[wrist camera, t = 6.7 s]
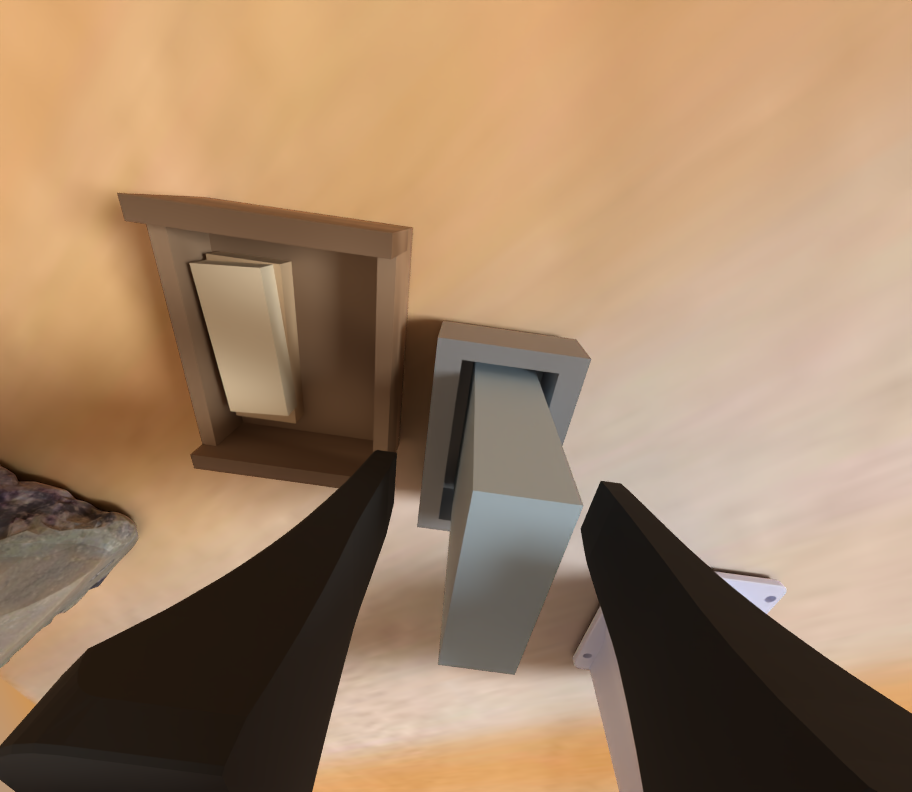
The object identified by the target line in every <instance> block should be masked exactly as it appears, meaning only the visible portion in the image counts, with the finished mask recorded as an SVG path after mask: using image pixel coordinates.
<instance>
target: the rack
mask: <svg viewBox="0 0 912 792" xmlns="http://www.w3.org/2000/svg"><path fill="white" fill-rule="evenodd" d="M117 194H118V198H119V201H120V205H121V209H122V212H123V216H124V219H125V221H129V222H136V223H143V224H146V225H147V229H148V233H149V237H150V241H151V245H152V248H153V252H154V256H155V260H156V264H157V268H158V272H159V276H160V280H161V284H162V288H163V291H164V295H165V299H166V303H167V307H168V311H169V315H170V319H171V323H172V327H173V331H174V334H175V338H176V342H177V346H178V350H179V354H180V358H181V362H182V366H183V370H184V374H185V377H186V381H187V385H188V389H189V393H190V397H191V401H192V405H193V409H194V413H195V417H196V420H197V424H198V428H199V432H200V436H201V440H202V445H201V446H200V447H199V448H198V449H196V450H195V451H194V452H193V453H192V454H190V455H191V458H192V462H193V465H194V468H196V469H204V470H211V471H218V472H225V473H233V474H240V475H247V476H255V477H262V478H269V479H276V480H284V481H291V482H298V483H305V484H313V485H320V486H327V487H335V488H340V487H341V486H342V485H343V484H344V483H345V482H346V481H347V480H348V479H349V478H350V477H351V476H352V475H353V474H354V473H355V472H356V471H357V470H358V468H359V467H360V466H361V465H362V464H363V463H364V462H365V461H366V460H367V459H368V457H369V456H370V455H371V454H372V453H373V452H374V451H376V450H382V451H389V452H396V451H397V448H398V445H399V436H400V420H401V405H402V389H403V374H404V358H405V343H406V328H407V312H408V297H409V281H410V266H411V250H412V235H413V228H412V227H405V226H398V225H392V224H385V223H378V222H371V221H364V220H357V219H350V218H343V217H337V216H330V215H323V214H316V213H309V212H302V211H295V210H288V209H282V208H275V207H268V206H261V205H254V204H247V203H240V202H234V201H227V200H220V199H213V198H206V197H190V196H169V195H148V194H127V193H117ZM219 251H223V252H230V253H237V254H244V255H251V256H258V257H265V258H272V259H279V260H286V261H291V264H292V276H293V287H294V299H295V311H296V322H297V334H298V346H299V357H300V369H301V381H302V393H303V404H304V415H303V416H302V417H301V418H300V420H299V421H298V422H297V423H288V422H281V421H274V420H267V419H260V418H252V417H245V416H238V415H236V412H233V411H230V408H229V404H228V400H227V397H226V393H225V390H224V386H223V382H222V379H221V375H220V372H219V368H218V364H217V361H216V357H215V354H214V350H213V346H212V343H211V339H210V336H209V332H208V328H207V325H206V321H205V318H204V314H203V310H202V307H201V303H200V300H199V296H198V292H197V289H196V285H195V282H194V278H193V274H192V271H191V267H190V264H189V263H192V262H197V261H203V260H207V258H206V253H213V252H219Z"/></svg>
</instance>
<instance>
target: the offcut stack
mask: <svg viewBox="0 0 912 792" xmlns="http://www.w3.org/2000/svg"><path fill="white" fill-rule="evenodd" d="M206 258H207V260H203V261H197V262H192V263H189V264H190V267H191V271H192V274H193V278H194V282H195V285H196V289H197V292H198V296H199V300H200V303H201V307H202V310H203V314H204V318H205V321H206V325H207V328H208V332H209V336H210V339H211V343H212V346H213V350H214V354H215V357H216V361H217V364H218V368H219V372H220V375H221V379H222V382H223V386H224V390H225V393H226V397H227V400H228V404H229V408H230V411H233V412H236V415H238V416H245V417H252V418H260V419H267V420H274V421H281V422H288V423H297V422H298V421H299V420H300V418H301V417H302V416H303V415H304V404H303V393H302V381H301V369H300V357H299V346H298V334H297V322H296V311H295V299H294V287H293V276H292V264H291V261H286V260H279V259H272V258H265V257H258V256H251V255H244V254H237V253H230V252H223V251H219V252H213V253H206Z"/></svg>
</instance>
